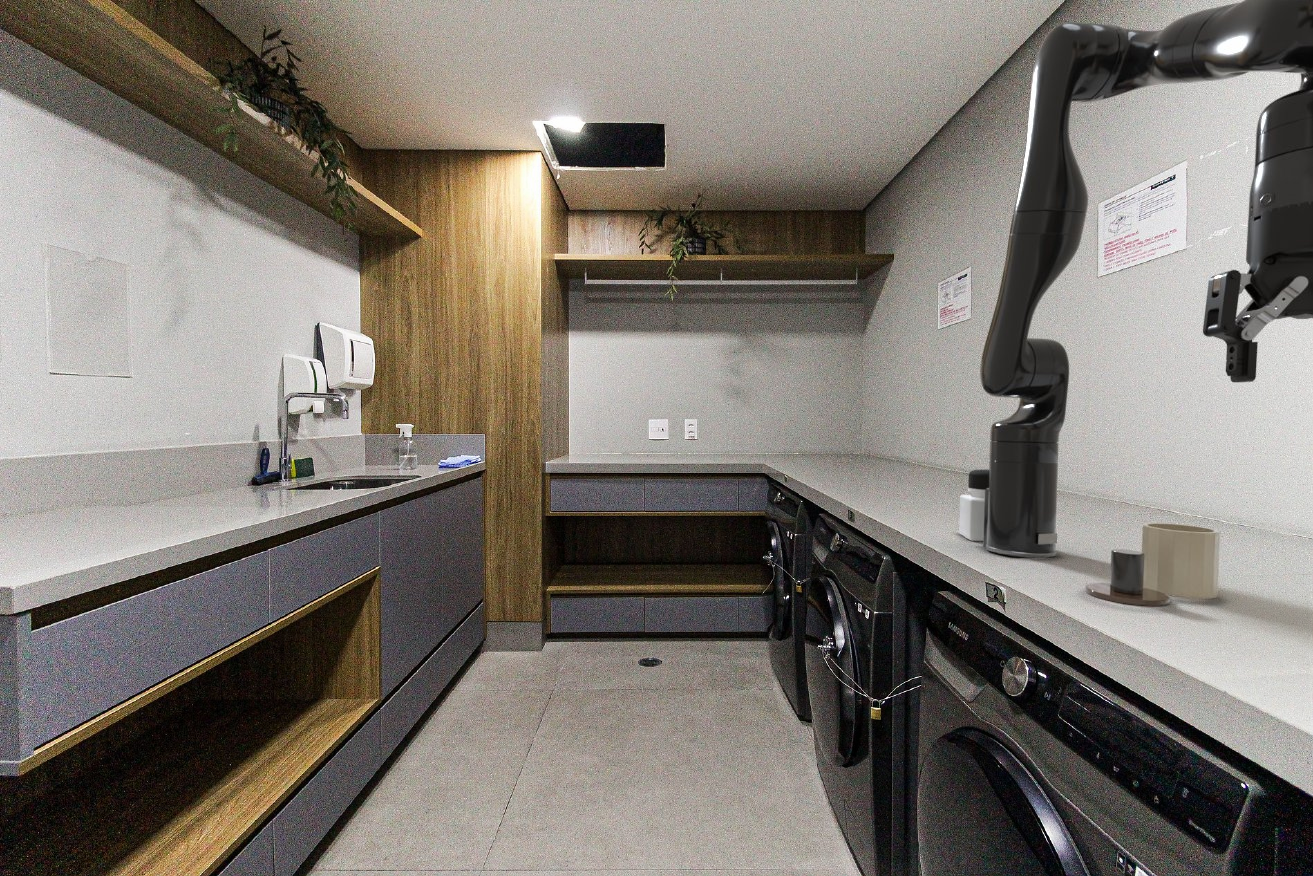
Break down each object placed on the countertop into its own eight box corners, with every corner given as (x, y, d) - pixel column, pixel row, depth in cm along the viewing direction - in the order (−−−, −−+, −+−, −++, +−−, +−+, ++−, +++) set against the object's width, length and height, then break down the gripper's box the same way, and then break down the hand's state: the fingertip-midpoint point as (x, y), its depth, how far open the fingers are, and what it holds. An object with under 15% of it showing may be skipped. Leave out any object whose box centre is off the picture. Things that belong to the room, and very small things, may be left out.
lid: (1069, 593, 75) (1071, 545, 75) (1125, 591, 76) (1127, 544, 76) (1126, 612, 67) (1128, 559, 67) (1187, 610, 69) (1189, 558, 68)
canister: (1125, 587, 78) (1127, 523, 78) (1174, 586, 79) (1176, 522, 79) (1180, 604, 71) (1183, 533, 71) (1233, 602, 72) (1236, 532, 72)
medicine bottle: (1015, 543, 107) (1017, 472, 106) (969, 541, 108) (971, 470, 108) (1001, 536, 114) (1003, 469, 113) (958, 533, 115) (960, 467, 115)
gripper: (1353, 219, 62) (1344, 385, 63) (1190, 223, 64) (1182, 383, 65) (1434, 192, 55) (1422, 381, 55) (1247, 197, 57) (1238, 379, 57)
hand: (1293, 382), depth 60 cm, fingers open, 8 cm apart
